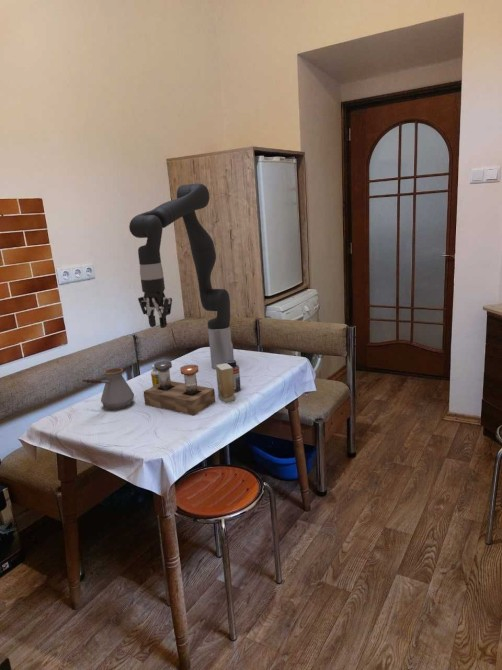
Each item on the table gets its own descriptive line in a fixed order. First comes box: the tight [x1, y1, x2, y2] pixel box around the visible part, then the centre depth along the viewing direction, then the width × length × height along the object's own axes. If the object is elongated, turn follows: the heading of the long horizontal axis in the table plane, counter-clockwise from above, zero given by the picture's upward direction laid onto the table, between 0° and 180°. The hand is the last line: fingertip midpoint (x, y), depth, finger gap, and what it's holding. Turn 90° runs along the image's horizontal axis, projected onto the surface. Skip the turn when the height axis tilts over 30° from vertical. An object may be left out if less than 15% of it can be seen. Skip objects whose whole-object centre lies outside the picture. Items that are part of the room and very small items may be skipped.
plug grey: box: [153, 360, 173, 391], centre depth 167 cm, size 6×6×10 cm
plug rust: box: [179, 364, 200, 396], centre depth 161 cm, size 6×6×10 cm
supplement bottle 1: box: [150, 363, 159, 387], centre depth 181 cm, size 5×5×10 cm
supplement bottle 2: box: [225, 358, 242, 393], centre depth 174 cm, size 6×6×11 cm
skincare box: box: [215, 363, 236, 403], centre depth 166 cm, size 6×4×12 cm
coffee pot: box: [79, 367, 135, 410], centre depth 163 cm, size 21×12×15 cm, turn 158°
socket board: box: [142, 380, 216, 416], centre depth 166 cm, size 12×22×5 cm, turn 57°
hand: (158, 326), depth 163 cm, fingers open, 4 cm apart
